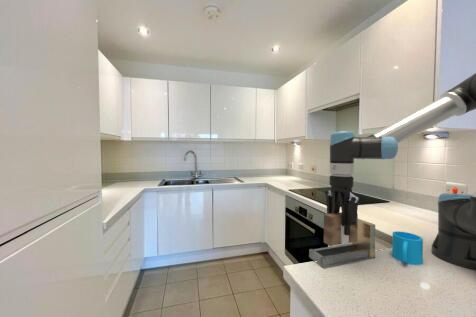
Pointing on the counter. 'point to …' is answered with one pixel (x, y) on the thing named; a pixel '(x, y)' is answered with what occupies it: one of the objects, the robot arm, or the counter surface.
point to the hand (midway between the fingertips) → (340, 241)
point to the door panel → (337, 229)
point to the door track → (348, 249)
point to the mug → (407, 247)
